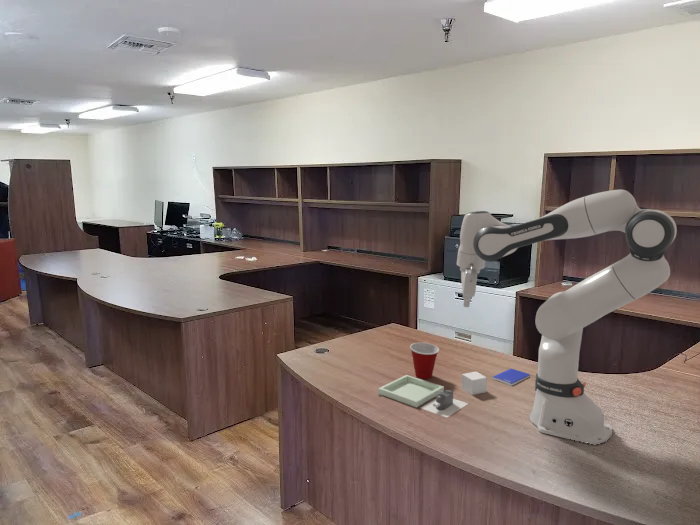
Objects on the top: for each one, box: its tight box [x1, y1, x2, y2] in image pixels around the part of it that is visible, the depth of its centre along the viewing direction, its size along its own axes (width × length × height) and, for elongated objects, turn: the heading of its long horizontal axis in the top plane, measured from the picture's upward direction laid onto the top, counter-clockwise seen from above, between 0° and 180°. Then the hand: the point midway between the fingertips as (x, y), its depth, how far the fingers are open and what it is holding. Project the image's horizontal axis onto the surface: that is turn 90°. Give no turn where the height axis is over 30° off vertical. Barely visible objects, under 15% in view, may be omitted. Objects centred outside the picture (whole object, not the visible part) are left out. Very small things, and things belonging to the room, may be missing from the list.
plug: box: [433, 389, 454, 410], centre depth 160 cm, size 9×3×4 cm, turn 137°
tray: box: [377, 374, 445, 409], centre depth 171 cm, size 16×16×2 cm
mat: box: [420, 398, 469, 418], centre depth 161 cm, size 10×13×1 cm
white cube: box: [461, 371, 488, 396], centre depth 172 cm, size 6×6×6 cm
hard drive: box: [491, 368, 531, 386], centre depth 184 cm, size 2×8×12 cm
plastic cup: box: [409, 342, 440, 380], centre depth 184 cm, size 11×11×12 cm
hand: (465, 302), depth 162 cm, fingers open, 8 cm apart
